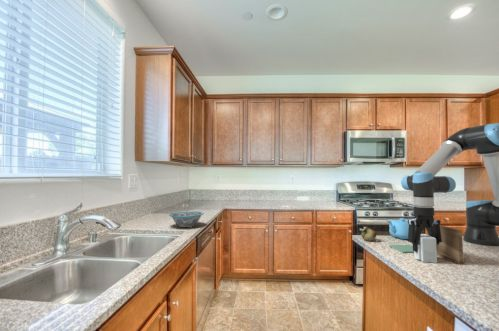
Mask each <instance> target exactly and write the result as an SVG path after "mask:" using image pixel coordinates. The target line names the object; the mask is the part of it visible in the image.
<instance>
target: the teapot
mask: <svg viewBox="0 0 499 331" xmlns="http://www.w3.org/2000/svg"><path fill="white" fill-rule="evenodd" d="M386 222H387V223H388V227H389V229H388V230H389V235H391V236H393V238H399V240H401V241H402V240H403V241H405V240H408V230H409V224H408V220H406V218H403V217H402V218H399V219H392V220H391V221H390V220H386ZM415 229H416V228H415Z"/></svg>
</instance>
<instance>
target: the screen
mask: <svg viewBox="0 0 499 331" xmlns="http://www.w3.org/2000/svg"><path fill="white" fill-rule="evenodd" d="M432 225H433V223H432ZM440 231H441V239H442V242H441V243H440V242H439V245H437V257H439V258H442V259H444V258H445V260H447V261H448V262H451V263H454V264H457V265H459V264H460V265H466V264H467V262H466V261H465V260H464V248H463V246H464V245H463V244H464V243H463V242H464V240H463V230H461V229H457V228H453V227H449V226H446V225H441V224H440Z"/></svg>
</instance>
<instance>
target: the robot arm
mask: <svg viewBox="0 0 499 331" xmlns="http://www.w3.org/2000/svg"><path fill="white" fill-rule="evenodd" d="M468 150H470V151H471V150H475V151H476V154H477V155H479V156H481V157H482V160H483V163H484V166H485V167H484V168H485V170H486V173H487V177H488V180H489V184H490V186H491V191H492V194H493V197H494V200H492V199H490V200H489V199H487V200H485V199H482V200H467V201H466V203H465V204H466V206H465V212H466V213H465V214H466V215H465V216H466V228H465V231H464V234H462V241H465V242H468V243H471V244H475V245H481V246H491V247H492V246H493V247H496V246H497V247H498V246H499V234H498V231H497V227H499V122H496V123H487V124H482V125H476V126H470V127H465V128H462V129H460V130H457V131H456V132H455V133H453V134H451V135H450V136H449V137H447V138H446V139H445V140H444V141H443V142H442V143H441V144H440V147H439V148H438V149H437V150H436V151H435V152H434V153H433V154H432V155H431V156H430V157H429V158H428V159H426V160H425V162H424V163H423V164H422V165H421V166H419V168H417V169H416V170H415V172H413V173H412V174H411V175H407V176H406V175H405V176H403V177H402V178H401V181H400V184H401V187H402V188H403V190H406V191H409V192H410V191H411V192H412V197H413V198H412V199H413V215H414V217H413V218H412V219H407V221H408V224H409V230H408V239H407V242H409V243H411V245H412V246H413V251H414V253H413V255H414V257H413V258H414V259H416V260H419V261H421V256H420V245H419V244H418V243H419V239H420V236H421V234H423V233H422V232H423V231H424V229H426V232H427V235H429V236H432V237H434V238H436V247H437V245H439V242H440V243H441V242H442V239H441V231H440V225H441V220H440V219H437V218H435V217H434V216H435V208H434V207H435V199H434V198H435V197H434V194H436V193H438V194H442V193H443V194H447V193H451V192H453V191H455V189H456V187H457V186H456V185H457V184H456V183H457V182H456V181H455V179H454V178H452V177H451V176H447V175H442V176H440V175H437V174H438V173H439V172H440V171H441V170H442V169H443V168H444V167H445V166H446V165H448V163H449V162H451V160H452V159H453V158H454V157H455V156H458V155H460V154H462V152H465V151H468ZM436 175H437V176H436ZM432 223H433V225H432ZM415 228H416V229H415Z"/></svg>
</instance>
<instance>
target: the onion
mask: <svg viewBox="0 0 499 331" xmlns="http://www.w3.org/2000/svg"><path fill="white" fill-rule="evenodd" d="M359 231H360V232H361V238H362V239H363V240H364V241H366V242H371V241H375V239H376V238H377V232H376V231H375V230H374V229H371V228H369V227H368V226H363V228H359Z"/></svg>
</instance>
